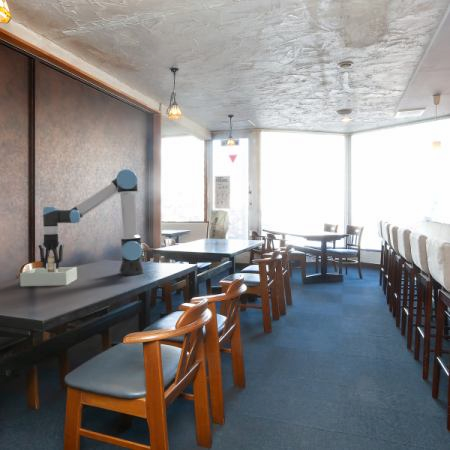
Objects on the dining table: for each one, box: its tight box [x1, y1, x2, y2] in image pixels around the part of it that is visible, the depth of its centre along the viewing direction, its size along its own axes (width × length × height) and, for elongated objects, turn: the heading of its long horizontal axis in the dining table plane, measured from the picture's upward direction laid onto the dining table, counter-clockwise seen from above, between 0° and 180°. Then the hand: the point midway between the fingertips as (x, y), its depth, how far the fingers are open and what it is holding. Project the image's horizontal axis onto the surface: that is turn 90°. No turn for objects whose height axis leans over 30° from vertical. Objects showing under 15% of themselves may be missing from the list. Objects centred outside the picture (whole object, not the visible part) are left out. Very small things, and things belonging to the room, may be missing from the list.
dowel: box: [48, 255, 55, 272], centre depth 212 cm, size 4×4×14 cm
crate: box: [19, 266, 78, 287], centre depth 209 cm, size 24×18×7 cm
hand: (52, 274), depth 212 cm, fingers closed on dowel, 4 cm apart
